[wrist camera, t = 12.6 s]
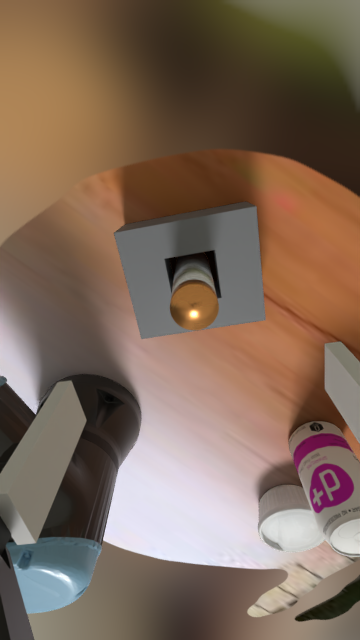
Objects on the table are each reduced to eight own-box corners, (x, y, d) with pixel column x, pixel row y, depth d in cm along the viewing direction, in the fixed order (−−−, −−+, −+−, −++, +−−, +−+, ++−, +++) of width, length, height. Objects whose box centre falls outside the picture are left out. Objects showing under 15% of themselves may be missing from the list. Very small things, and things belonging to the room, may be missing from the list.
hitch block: (147, 317, 42) (141, 339, 36) (124, 224, 37) (113, 233, 32) (255, 300, 41) (265, 320, 35) (245, 201, 36) (256, 206, 30)
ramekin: (240, 500, 56) (244, 530, 51) (292, 468, 53) (302, 498, 48) (279, 530, 59) (287, 561, 55) (330, 502, 56) (344, 533, 51)
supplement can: (276, 435, 50) (310, 534, 36) (324, 409, 47) (379, 503, 34) (304, 465, 52) (345, 568, 39) (350, 441, 50) (412, 541, 36)
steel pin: (179, 282, 40) (174, 333, 27) (172, 251, 38) (165, 289, 26) (210, 277, 40) (221, 326, 27) (206, 245, 38) (215, 281, 25)
